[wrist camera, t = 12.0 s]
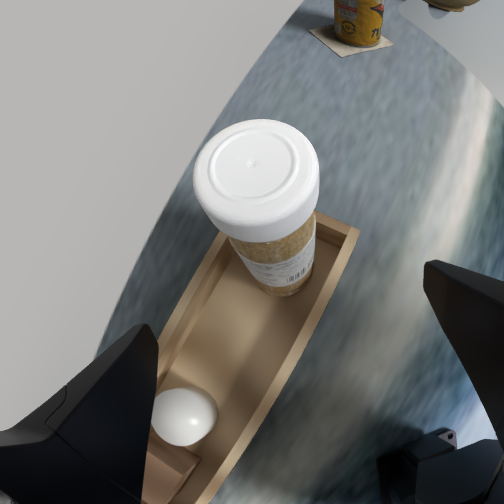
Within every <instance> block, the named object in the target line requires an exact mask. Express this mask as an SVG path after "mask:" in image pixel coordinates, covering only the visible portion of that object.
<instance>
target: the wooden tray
mask: <svg viewBox="0 0 504 504" xmlns="http://www.w3.org/2000/svg"><path fill="white" fill-rule="evenodd" d="M314 215H315V219H316V231H315V250H314V259H313V261H314V269H313V275H312V277H311V279H310V281H309V283H308V284H307V286H306V287H304V288H303V289H302V290H301V291H299V292H297V293H296V294H294V295H290V296H284V297H283V296H275V295H270V294H269V293H267V292H266V291H264V290H263V289H261V288H260V286H259V285H258V284H257V282H256V280H255V279H254V276H253V275H252V274H251V272H250V271H249V269H248V268H247V266H246V265H245V263H244V262H243V260H242V259H241V258H240V256H239V255H238V253H237V252H236V250H235V249H234V247H233V246H232V244H231V243H230V241H229V238H228V237H227V235H226V234H225V233H223V232H222V231H219V233H218V234H217V236H216V238H215V239H214V241H213V243H212V245H211V246H210V248H209V250H208V251H207V253H206V255H205V257H204V258H203V260H202V262H201V263H200V265H199V267H198V269H197V270H196V272H195V274H194V276H193V277H192V279H191V281H190V283H189V284H188V286H187V288H186V290H185V291H184V293H183V295H182V297H181V299H180V300H179V302H178V304H177V306H176V307H175V309H174V311H173V313H172V315H171V316H170V318H169V320H168V322H167V324H166V325H165V327H164V329H163V331H162V333H161V335H160V336H159V338H158V340H157V342H158V345H159V356H158V372H157V387H156V394H155V398H156V397H157V396H158V395H159V394H160V393H162V392H164V391H167V390H171V389H176V388H181V387H185V386H196V387H200V388H202V389H204V390H206V391H207V392H208V393H210V394H211V396H212V397H213V398H214V399H215V401H216V403H217V406H218V410H219V418H218V422H217V424H216V426H215V428H214V429H213V430H212V431H211V432H209V433H208V434H207V435H205V436H204V437H202V438H201V439H200V440H198V441H197V442H195V443H194V444H191V445H188V446H183V447H185V448H186V449H188V450H190V451H191V452H193V453H194V454H196V455H198V456H199V457H201V458H202V459H201V461H200V462H199V464H198V465H197V467H196V469H195V470H194V472H193V473H192V475H191V476H190V478H189V479H188V481H187V482H186V484H185V485H184V487H183V488H182V490H181V491H180V493H178V494H177V495H176V496H175V497H174V498H173V499H172V500H171V501H170V502H169V503H167V504H208V503H209V502H210V500H211V499H212V498H213V496H214V495H215V494H216V492H217V491H218V489H219V488H220V487H221V485H222V484H223V482H224V481H225V479H226V478H227V476H228V475H229V474H230V472H231V471H232V469H233V468H234V466H235V465H236V463H237V462H238V460H239V459H240V457H241V456H242V454H243V453H244V451H245V450H246V448H247V446H248V445H249V443H250V442H251V440H252V439H253V437H254V435H255V434H256V432H257V431H258V429H259V427H260V426H261V424H262V423H263V421H264V419H265V418H266V416H267V414H268V413H269V411H270V409H271V408H272V406H273V404H274V403H275V401H276V399H277V398H278V396H279V394H280V392H281V391H282V389H283V387H284V385H285V384H286V382H287V380H288V378H289V377H290V375H291V373H292V371H293V370H294V368H295V366H296V364H297V362H298V360H299V359H300V357H301V355H302V353H303V351H304V349H305V347H306V346H307V344H308V342H309V340H310V338H311V336H312V334H313V332H314V330H315V328H316V326H317V324H318V322H319V320H320V319H321V317H322V315H323V313H324V311H325V309H326V306H327V304H328V302H329V300H330V298H331V296H332V294H333V292H334V290H335V288H336V286H337V284H338V282H339V279H340V277H341V275H342V273H343V271H344V269H345V267H346V264H347V262H348V260H349V258H350V255H351V253H352V251H353V249H354V246H355V244H356V241H357V239H358V236H359V234H360V230H358V229H356V228H354V227H352V226H349V225H347V224H345V223H343V222H340V221H338V220H336V219H334V218H331V217H329V216H327V215H324V214H322V213H320V212H317V211H315V210H314ZM154 431H155V430H154V428H153V426H152V423H151V426H150V433H152V432H154ZM141 504H148V503H146V502H145V501H143V500H141Z"/></svg>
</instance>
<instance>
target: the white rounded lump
mask: <svg viewBox="0 0 504 504" xmlns="http://www.w3.org/2000/svg"><path fill="white" fill-rule="evenodd" d="M218 418H219V410H218V406H217V403H216V401H215V399H214V398H213V397H212V396H211V394H210V393H208V392H207V391H206V390H204V389H202V388H200V387H196V386H185V387H181V388H176V389H171V390H167V391H164V392H162V393H160V394H159V395H158V396H157V397H156V398H155V400H154V407H153V413H152V420H151V423H152V426H153V428H154V430H155V431H156V433H157V434H158V435H159V436H160V437H161V438H162V439H163V440H165V441H166V442H168V443H170V444H172V445H176V446H188V445H191V444H194V443H195V442H197V441H198V440H200V439H201V438H202V437H204V436H205V435H207V434H208V433H209V432H211V431H212V430H213V429H214V428H215V426H216V424H217V422H218Z"/></svg>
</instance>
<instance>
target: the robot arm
mask: <svg viewBox="0 0 504 504" xmlns="http://www.w3.org/2000/svg"><path fill="white" fill-rule="evenodd" d="M423 288H424V291H425V294H426V296H427V298H428V300H429V302H430V304H431V306H432V308H433V310H434V312H435V315H436V317H437V319H438V321H439V323H440V325H441V327H442V329H443V331H444V333H445V334H446V336H447V338H448V340H449V341H450V343H451V345H452V347H453V348H454V350H455V352H456V354H457V356H458V357H459V359H460V361H461V363H462V365H463V367H464V368H465V370H466V372H467V374H468V376H469V378H470V380H471V382H472V384H473V386H474V388H475V390H476V392H477V394H478V396H479V398H480V400H481V402H482V404H483V406H484V408H485V410H486V413H487V415H488V417H489V419H490V421H491V424H492V426H493V428H494V430H495V432H496V436H497V438H498V440H491V439H483V440H480V441H478V442H476V443H473V444H471V445H468V446H466V447H463V448H460V449H458V450H457V441H456V433H455V431H454V430H451V429H449V430H446V431H444V432H442V433H439V434H437V435H434V434H430V435H428V436H425V437H423V438H420V439H418V440H415V441H412V442H410V443H407V444H404V445H403V446H402V447H401V449H398V450H395V451H392V452H389V453H386V454H383V455H380V456H379V457H378V458H377V460H376V464H377V471H378V479H379V487H380V495H381V504H504V281H501V280H498V279H495V278H492V277H489V276H486V275H483V274H480V273H477V272H474V271H471V270H468V269H465V268H462V267H458V266H455V265H452V264H449V263H446V262H443V261H440V260H432V261H429V262H426V263H425V265H424V278H423ZM158 356H159V345H158V342H157V340H156V338H155V336H154V334H153V332H152V330H151V329H150V327H149V325H148V324H139V325H135V326H134V327H132V328H131V329H130V330H129V331H128V332H127V333H125V334H124V335H123V336H122V337H121V338H120V339H118V340H117V341H116V342H115V343H114V344H112V345H111V346H110V347H109V348H108V349H107V350H105V351H104V352H103V353H102V354H101V355H100V356H98V357H97V358H96V359H95V360H94V361H93V362H91V363H90V364H89V365H88V366H87V367H86V368H85V369H84V370H82V371H81V372H80V373H79V374H78V375H76V376H75V377H74V378H73V379H72V380H71V381H69V382H68V383H67V385H65V386H64V387H63V388H61V389H60V390H59V391H58V392H57V393H56V394H54V395H53V396H52V397H51V398H50V399H48V400H47V401H46V402H45V403H43V404H42V405H41V406H40V407H38V408H37V409H36V410H34V411H33V412H32V413H30V414H29V415H28V416H27V417H25V418H24V419H23V420H21V421H20V422H19V423H17V424H16V425H15V426H13V427H12V428H10V429H8V430H4V431H0V504H141V500H142V490H143V481H144V472H145V463H146V455H147V448H148V440H149V433H150V426H151V420H152V413H153V407H154V400H155V394H156V387H157V372H158ZM450 433H451V436H450V437H449V438H448V435H449V434H450ZM383 459H386V461H385V462H384V463H381V460H383Z"/></svg>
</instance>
